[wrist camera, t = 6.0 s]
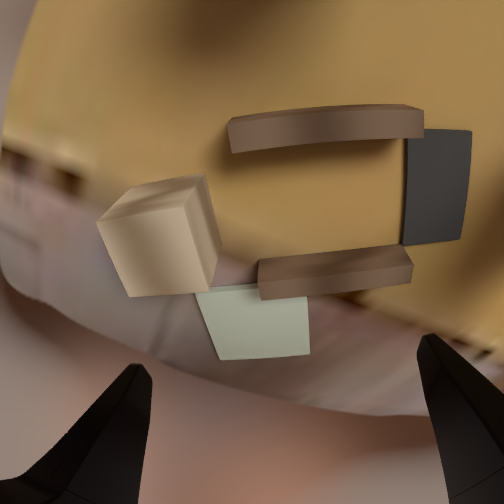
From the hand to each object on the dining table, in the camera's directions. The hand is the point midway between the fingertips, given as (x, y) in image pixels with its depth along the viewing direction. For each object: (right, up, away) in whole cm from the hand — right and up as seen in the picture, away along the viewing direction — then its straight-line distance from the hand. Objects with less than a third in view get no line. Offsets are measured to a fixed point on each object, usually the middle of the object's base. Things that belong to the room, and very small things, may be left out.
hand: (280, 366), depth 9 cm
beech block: (-6, +6, +11) cm, 13 cm away
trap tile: (+11, +8, +8) cm, 16 cm away
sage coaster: (0, -2, +15) cm, 15 cm away
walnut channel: (+4, +7, +9) cm, 12 cm away
